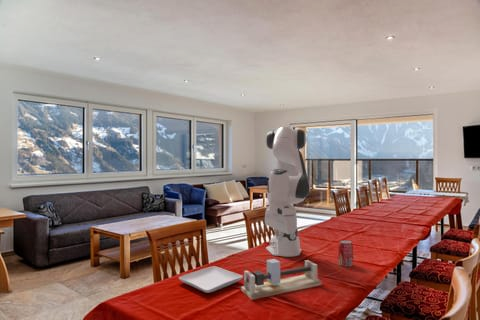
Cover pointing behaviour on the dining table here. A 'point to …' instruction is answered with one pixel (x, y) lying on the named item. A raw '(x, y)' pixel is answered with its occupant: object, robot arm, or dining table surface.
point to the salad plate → (210, 279)
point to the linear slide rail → (259, 288)
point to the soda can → (345, 253)
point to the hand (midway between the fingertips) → (279, 239)
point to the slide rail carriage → (273, 271)
